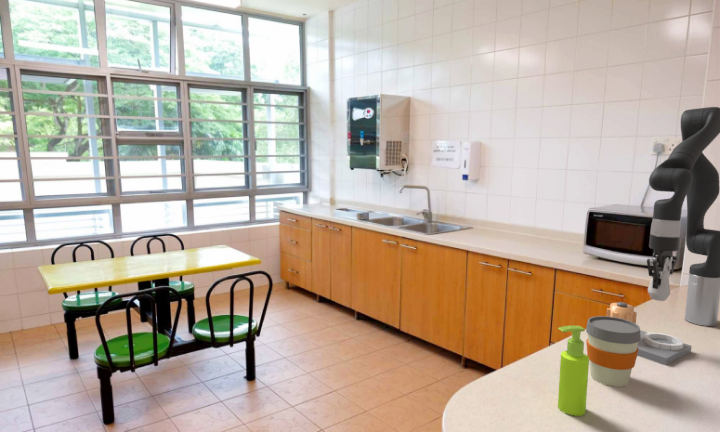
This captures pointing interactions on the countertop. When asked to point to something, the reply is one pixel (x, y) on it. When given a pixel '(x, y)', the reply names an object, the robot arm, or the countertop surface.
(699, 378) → the countertop surface
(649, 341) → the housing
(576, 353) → the soap dispenser
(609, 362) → the reusable coffee cup
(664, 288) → the salt shaker
